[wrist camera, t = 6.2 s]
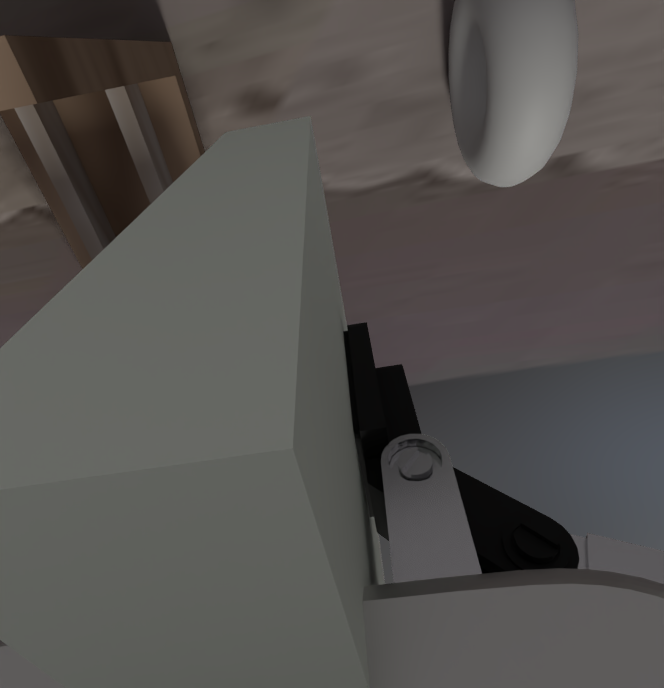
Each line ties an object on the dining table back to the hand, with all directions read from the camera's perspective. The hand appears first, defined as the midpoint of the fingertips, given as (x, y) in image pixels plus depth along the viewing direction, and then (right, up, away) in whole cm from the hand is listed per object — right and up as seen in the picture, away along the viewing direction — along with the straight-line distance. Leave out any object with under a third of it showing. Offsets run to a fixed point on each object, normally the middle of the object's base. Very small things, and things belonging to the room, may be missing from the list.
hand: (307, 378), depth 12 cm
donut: (+8, +17, +12) cm, 22 cm away
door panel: (0, +2, +3) cm, 4 cm away
